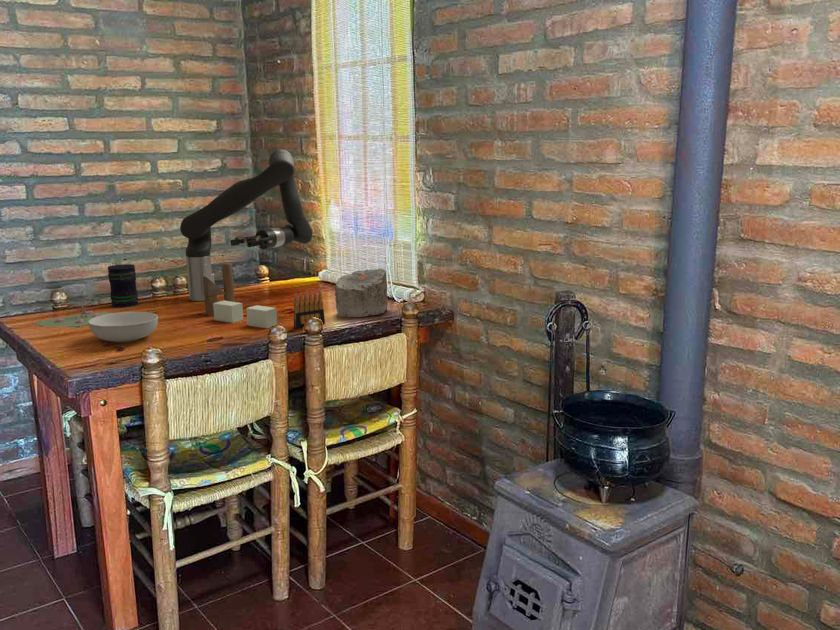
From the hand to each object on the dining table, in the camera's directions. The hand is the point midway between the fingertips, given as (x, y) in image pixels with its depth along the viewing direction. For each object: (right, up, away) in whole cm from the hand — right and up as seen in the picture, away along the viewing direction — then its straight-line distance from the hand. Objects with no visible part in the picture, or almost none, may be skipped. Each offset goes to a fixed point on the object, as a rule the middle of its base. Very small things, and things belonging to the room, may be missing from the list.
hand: (239, 243), depth 291 cm
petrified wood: (+45, -26, -6) cm, 52 cm away
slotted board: (+6, -29, -18) cm, 35 cm away
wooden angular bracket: (-6, -26, -4) cm, 27 cm away
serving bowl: (-28, -34, -37) cm, 57 cm away
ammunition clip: (+29, -30, -23) cm, 48 cm away
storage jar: (-47, -23, +14) cm, 54 cm away
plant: (-56, -29, -11) cm, 64 cm away
